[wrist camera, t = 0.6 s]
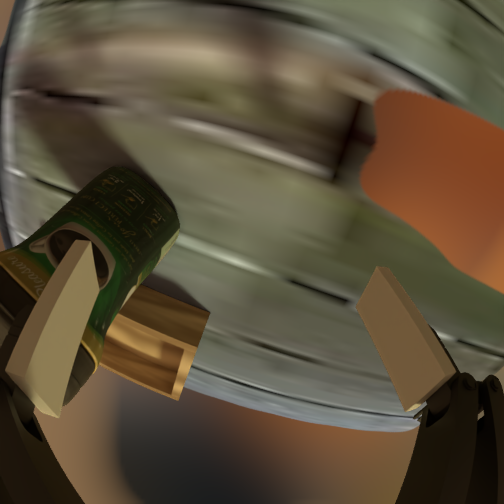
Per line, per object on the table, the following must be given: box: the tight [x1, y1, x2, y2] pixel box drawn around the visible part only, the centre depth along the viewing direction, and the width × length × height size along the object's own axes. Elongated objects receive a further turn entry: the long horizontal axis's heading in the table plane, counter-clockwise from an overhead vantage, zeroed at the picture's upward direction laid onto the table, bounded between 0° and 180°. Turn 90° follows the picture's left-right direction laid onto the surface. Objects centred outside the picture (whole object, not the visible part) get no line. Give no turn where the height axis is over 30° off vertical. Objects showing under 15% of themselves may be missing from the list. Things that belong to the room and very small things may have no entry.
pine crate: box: [99, 284, 210, 400], centre depth 32 cm, size 16×20×5 cm
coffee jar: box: [0, 167, 180, 406], centre depth 17 cm, size 10×8×19 cm
